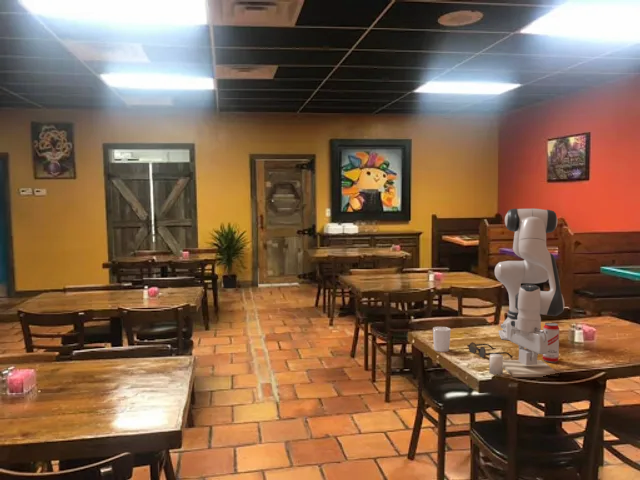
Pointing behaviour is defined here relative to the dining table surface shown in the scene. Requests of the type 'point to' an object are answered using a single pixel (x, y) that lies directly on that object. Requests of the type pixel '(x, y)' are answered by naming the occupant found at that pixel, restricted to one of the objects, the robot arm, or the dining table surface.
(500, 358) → the cream cylinder
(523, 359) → the grey block
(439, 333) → the white cup
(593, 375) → the dining table surface
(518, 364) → the rippled cream cloth
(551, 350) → the beer can
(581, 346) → the dining table surface
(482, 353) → the eyeglasses
